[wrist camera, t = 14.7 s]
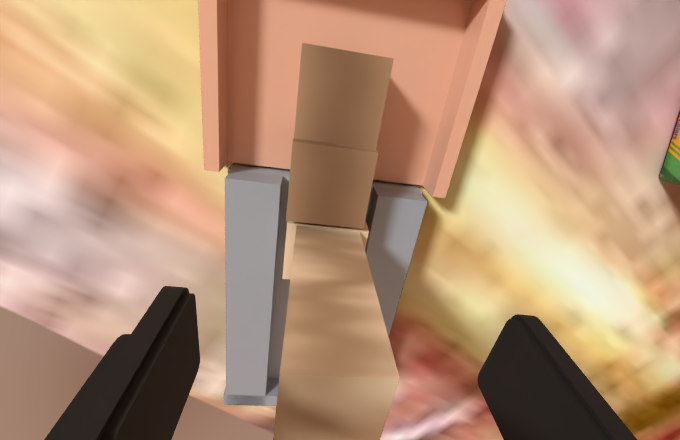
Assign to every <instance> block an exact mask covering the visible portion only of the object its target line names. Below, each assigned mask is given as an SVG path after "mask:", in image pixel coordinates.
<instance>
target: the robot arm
mask: <svg viewBox="0 0 680 440" xmlns="http://www.w3.org/2000/svg"><path fill="white" fill-rule="evenodd" d="M199 364H200V352H199V340H198V327H197V314H196V301H195V295H194V294H190V293H189V290H188V288H183V287H171V286H165V287H163V288H162V289H161V291H160V292H159V294H158V295H157V297H156V298H155V300H154V301H153V303H152V304H151V306H150V307H149V308H148V310H147V311H146V313H145V314H144V316H143V317H142V319H141V320H140V322H139V323H138V325H137V326H136V328H135V329H134V331H133V332H132V334H124V335H121V336H120V337H118V338H117V340H116V341H115V342H114V343H113V344H112V346H111V347H110V349H109V350H108V351H107V353H106V354H105V356H104V357H103V358H102V360H101V361H100V363H99V364H98V365H97V367H96V368H95V370H94V371H93V372H92V374H91V375H90V377H89V378H88V379H87V381H86V382H85V384H84V385H83V386H82V388H81V390H80V391H79V392H78V393H77V395H76V396H75V398H74V399H73V400H72V402H71V403H70V405H69V406H68V407H67V409H66V410H65V412H64V413H63V414H62V416H61V417H60V419H59V420H58V421H57V423H56V424H55V426H54V427H53V428H52V430H51V431H50V433H49V434H48V435H47V437H46V438H45V440H171V439H172V436H173V434H174V431H175V429H176V426H177V424H178V421H179V418H180V416H181V413H182V411H183V408H184V405H185V403H186V400H187V398H188V395H189V393H190V390H191V387H192V385H193V382H194V380H195V377H196V375H197V372H198V368H199ZM478 384H479V387H480V390H481V392H482V394H483V396H484V398H485V400H486V403H487V405H488V407H489V409H490V411H491V413H492V415H493V417H494V420H495V422H496V424H497V426H498V428H499V430H500V432H501V435H502V437H503V439H504V440H637V439H636V438H635V437H634V435H633V434H632V433H631V432H630V430H629V429H628V428H627V427H626V425H625V424H624V423H623V422H622V420H621V419H620V418H619V417H618V416H617V414H616V413H615V412H614V411H613V409H612V408H611V407H610V406H609V404H608V403H607V402H606V401H605V400H604V398H603V397H602V396H601V395H600V393H599V392H598V391H597V390H596V388H595V387H594V386H593V385H592V383H591V382H590V381H589V380H588V379H587V377H586V376H585V375H584V374H583V372H582V371H581V370H580V369H579V367H578V366H577V365H576V364H575V363H574V361H573V360H572V359H571V358H570V356H569V355H568V354H567V353H566V351H565V350H564V349H563V348H562V346H561V345H560V344H559V343H558V342H557V340H556V339H555V338H554V337H553V335H552V334H551V333H550V332H549V330H548V329H547V328H546V327H545V326H544V324H543V323H542V322H541V321H540V320H539V319H538V318H537V317H535V316H528V315H514V316H513V317H512V318H511V319H509V320H508V321H507V322H506V324H505V326H504V328H503V330H502V331H501V333H500V335H499V337H498V339H497V341H496V343H495V345H494V346H493V348H492V350H491V352H490V354H489V356H488V358H487V360H486V361H485V363H484V365H483V367H482V369H481V371H480V373H479V375H478Z"/></svg>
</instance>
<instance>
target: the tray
mask: <svg viewBox="0 0 680 440" xmlns="http://www.w3.org/2000/svg"><path fill="white" fill-rule="evenodd" d="M506 1H507V0H198V11H199V39H200V67H201V96H202V124H203V153H204V170H208V171H217V172H219V171H220V170H221V169H222V168H223V167H224V166H225V165H226V164H227V163H228V162H232V163H241V164H249V165H257V166H265V167H274V168H282V169H290V166H291V154H292V142H293V138H294V131H295V120H296V108H297V96H298V85H299V73H300V61H301V49H302V43H307V44H312V45H318V46H324V47H330V48H336V49H341V50H347V51H353V52H359V53H365V54H370V55H376V56H382V57H388V58H394V60H393V65H392V70H391V76H390V81H389V86H388V91H387V96H386V101H385V106H384V111H383V117H382V122H381V127H380V132H379V137H378V142H377V147H376V150H377V151H378V158H377V163H376V168H375V173H374V178H373V180H381V181H389V182H397V183H406V184H414V185H422V186H423V187H424V188H425V189H426V190H427V191H428V192H429V193H430V194H431V196H432V197H439V198H445V197H446V194H447V191H448V187H449V184H450V181H451V178H452V175H453V171H454V168H455V165H456V162H457V159H458V155H459V152H460V149H461V146H462V142H463V139H464V136H465V133H466V130H467V126H468V123H469V120H470V117H471V113H472V110H473V107H474V104H475V101H476V97H477V94H478V91H479V88H480V85H481V81H482V78H483V75H484V72H485V68H486V65H487V62H488V59H489V56H490V52H491V49H492V46H493V43H494V39H495V36H496V33H497V30H498V27H499V23H500V20H501V17H502V14H503V11H504V7H505V4H506Z"/></svg>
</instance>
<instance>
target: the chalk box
mask: <svg viewBox="0 0 680 440" xmlns="http://www.w3.org/2000/svg"><path fill="white" fill-rule="evenodd" d="M659 178H660V179H662V180H665V181H668V182H671V183H674V184H677V185H680V115H679V118H678V121H677V125H676V128H675V131H674V134H673V137H672V140H671V143H670V146H669V149H668V152H667V155H666V159H665V162H664V165H663V167H662V170H661V172H660V175H659Z"/></svg>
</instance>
